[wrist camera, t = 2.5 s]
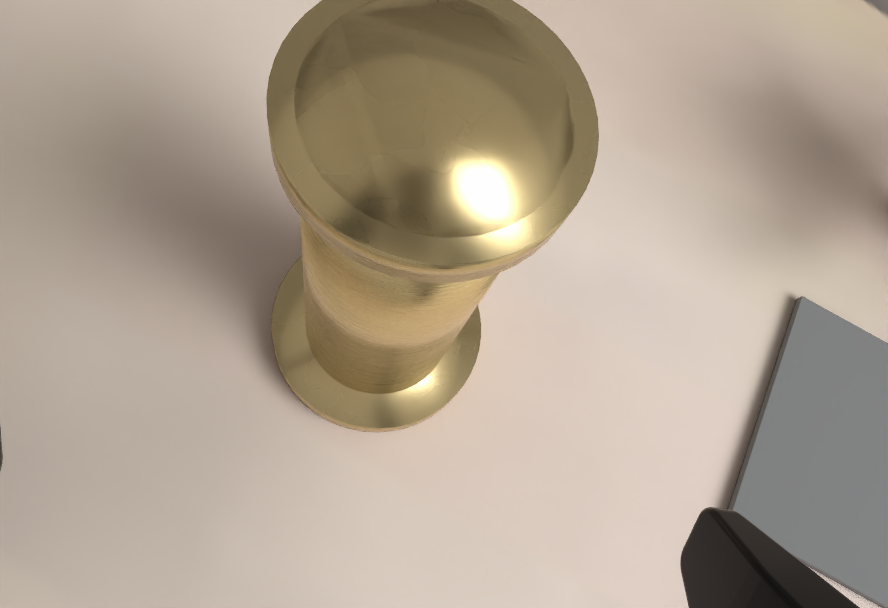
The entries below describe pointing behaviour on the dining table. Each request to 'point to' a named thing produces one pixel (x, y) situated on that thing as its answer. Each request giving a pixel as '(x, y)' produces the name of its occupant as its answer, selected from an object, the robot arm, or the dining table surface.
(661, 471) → the dining table surface
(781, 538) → the mat
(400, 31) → the brass pedestal cup
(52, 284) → the dining table surface
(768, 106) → the dining table surface
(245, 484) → the dining table surface
